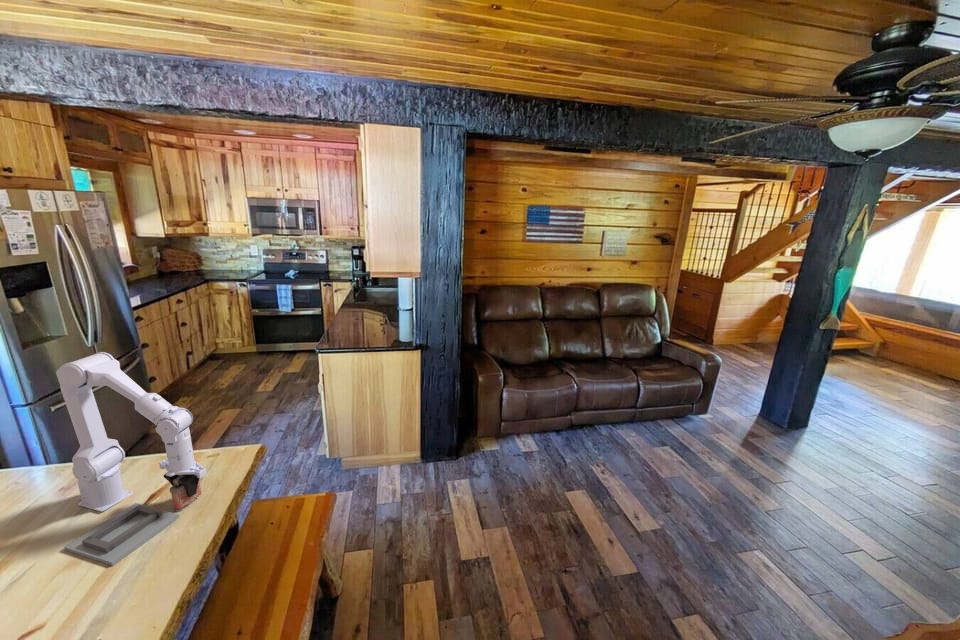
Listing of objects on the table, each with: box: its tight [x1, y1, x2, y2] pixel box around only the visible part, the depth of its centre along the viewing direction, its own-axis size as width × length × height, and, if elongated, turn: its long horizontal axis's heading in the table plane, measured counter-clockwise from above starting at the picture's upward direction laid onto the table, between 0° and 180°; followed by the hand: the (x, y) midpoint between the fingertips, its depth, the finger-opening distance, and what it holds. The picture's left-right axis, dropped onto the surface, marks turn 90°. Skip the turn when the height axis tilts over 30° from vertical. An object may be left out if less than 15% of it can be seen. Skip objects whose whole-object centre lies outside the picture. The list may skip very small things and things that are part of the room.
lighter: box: [169, 474, 202, 513], centre depth 109 cm, size 8×3×10 cm, turn 168°
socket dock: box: [63, 502, 180, 567], centre depth 99 cm, size 16×16×2 cm
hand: (187, 493), depth 110 cm, fingers closed on lighter, 3 cm apart
